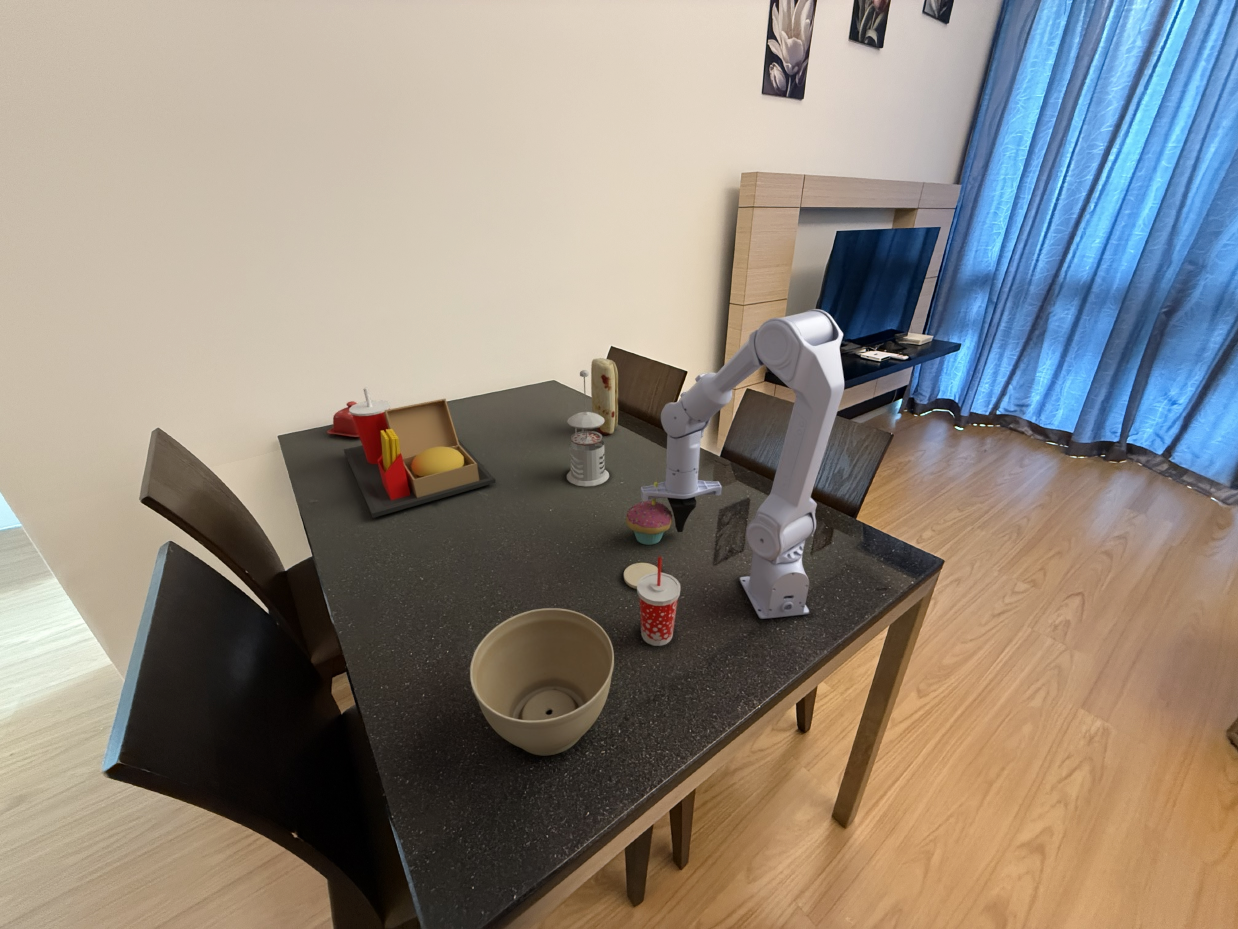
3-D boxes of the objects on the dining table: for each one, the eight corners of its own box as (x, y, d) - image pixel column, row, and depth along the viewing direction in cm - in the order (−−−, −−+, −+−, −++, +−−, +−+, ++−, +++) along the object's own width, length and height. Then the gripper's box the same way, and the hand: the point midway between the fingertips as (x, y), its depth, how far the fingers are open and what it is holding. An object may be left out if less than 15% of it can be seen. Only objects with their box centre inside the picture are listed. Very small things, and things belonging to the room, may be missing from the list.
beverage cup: (663, 656, 74) (666, 577, 67) (627, 637, 77) (628, 560, 71) (685, 631, 78) (691, 554, 72) (651, 613, 81) (653, 538, 75)
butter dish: (356, 421, 151) (349, 392, 147) (389, 425, 148) (383, 397, 144) (325, 436, 141) (316, 407, 137) (360, 442, 138) (352, 411, 134)
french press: (572, 489, 115) (566, 379, 104) (560, 466, 125) (554, 363, 114) (614, 482, 118) (613, 374, 107) (600, 460, 128) (597, 359, 116)
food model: (587, 426, 146) (584, 355, 137) (609, 422, 149) (608, 352, 140) (600, 439, 138) (598, 365, 129) (623, 435, 141) (623, 362, 132)
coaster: (665, 587, 86) (665, 585, 86) (626, 591, 86) (626, 588, 85) (657, 563, 92) (657, 561, 92) (621, 567, 91) (621, 564, 91)
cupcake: (644, 520, 104) (645, 466, 99) (680, 535, 100) (683, 480, 94) (617, 540, 98) (616, 484, 93) (653, 557, 94) (655, 499, 88)
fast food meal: (374, 522, 104) (351, 436, 96) (345, 456, 130) (326, 385, 122) (496, 486, 117) (486, 408, 108) (447, 433, 143) (436, 367, 134)
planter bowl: (464, 703, 67) (451, 640, 62) (576, 651, 75) (573, 591, 70) (511, 816, 55) (500, 749, 50) (639, 740, 62) (641, 675, 57)
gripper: (715, 452, 97) (710, 514, 103) (638, 457, 95) (637, 520, 102) (727, 470, 91) (721, 535, 97) (645, 476, 89) (643, 541, 96)
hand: (678, 529), depth 99 cm, fingers closed
